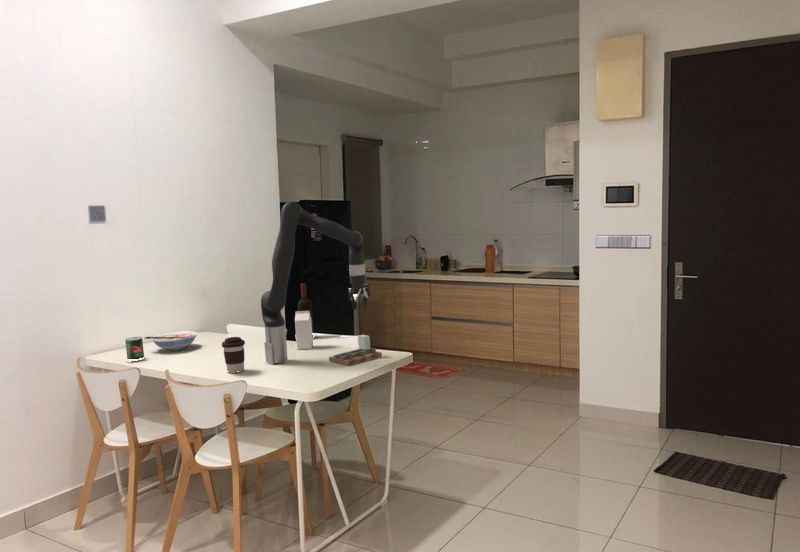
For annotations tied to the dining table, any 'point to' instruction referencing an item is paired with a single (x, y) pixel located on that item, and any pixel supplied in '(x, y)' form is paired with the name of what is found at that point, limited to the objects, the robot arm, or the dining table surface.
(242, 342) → the coffee cup
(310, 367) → the dining table surface
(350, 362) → the brown flat piece
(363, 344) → the fader
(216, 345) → the dining table surface
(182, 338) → the ramen bowl
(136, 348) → the canned tomato
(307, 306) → the wine bottle
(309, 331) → the milk carton
